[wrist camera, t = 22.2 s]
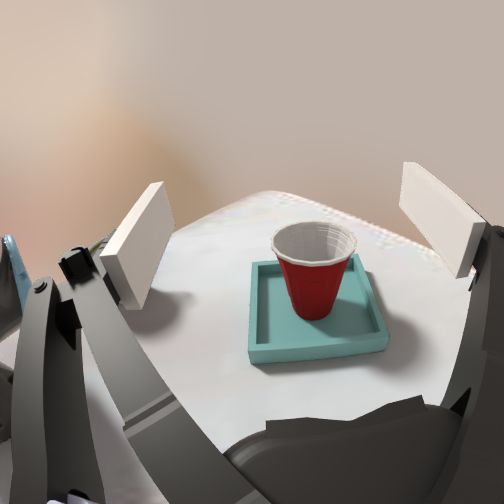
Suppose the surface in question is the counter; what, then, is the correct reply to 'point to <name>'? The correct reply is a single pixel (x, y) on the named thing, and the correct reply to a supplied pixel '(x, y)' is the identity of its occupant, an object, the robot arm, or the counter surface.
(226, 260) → the counter surface
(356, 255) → the tray
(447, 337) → the counter surface
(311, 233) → the plastic cup
